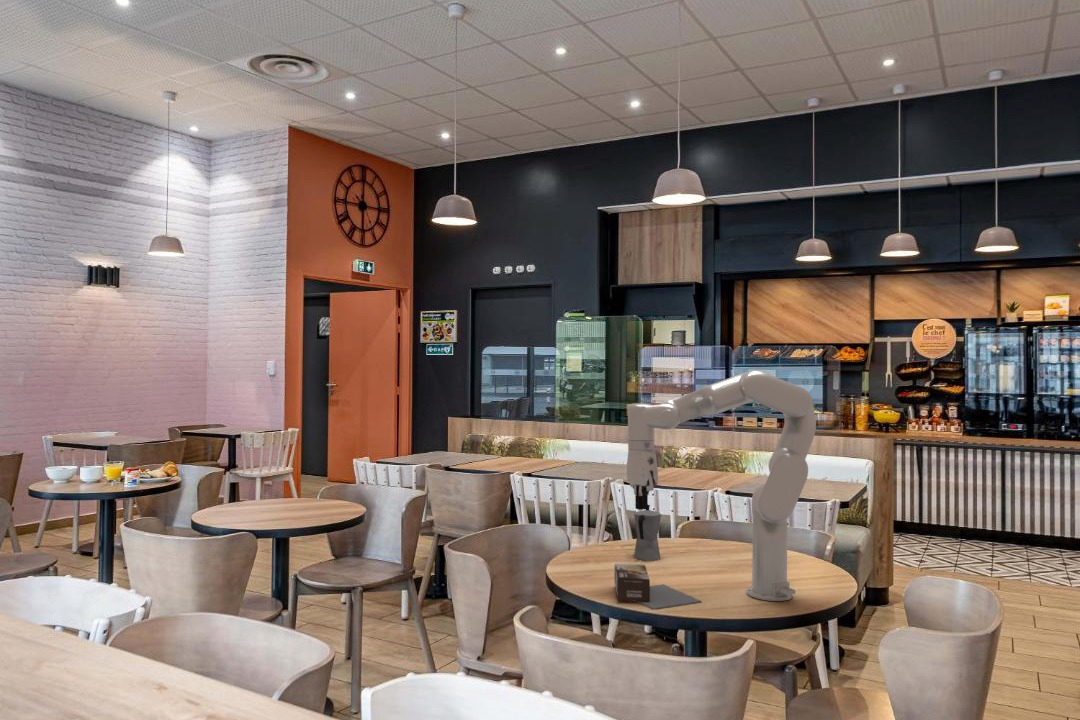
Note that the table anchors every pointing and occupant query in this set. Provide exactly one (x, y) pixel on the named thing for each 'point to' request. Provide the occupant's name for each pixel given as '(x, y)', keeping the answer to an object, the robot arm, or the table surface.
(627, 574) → the coffee box
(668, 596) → the mat
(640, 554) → the coffeepot
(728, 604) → the table surface
